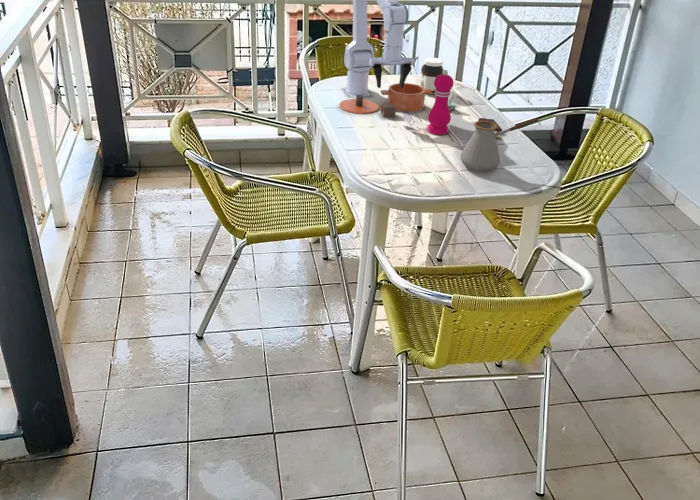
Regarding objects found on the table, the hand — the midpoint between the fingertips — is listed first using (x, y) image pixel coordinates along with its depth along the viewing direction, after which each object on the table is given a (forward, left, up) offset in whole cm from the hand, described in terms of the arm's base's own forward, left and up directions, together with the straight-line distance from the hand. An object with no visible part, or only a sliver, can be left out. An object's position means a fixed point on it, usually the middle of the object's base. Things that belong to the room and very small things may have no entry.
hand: (389, 86), depth 222 cm
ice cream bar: (+15, +31, -10) cm, 36 cm away
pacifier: (-7, +23, -10) cm, 26 cm away
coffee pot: (+43, +21, -10) cm, 49 cm away
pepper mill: (+14, +13, -10) cm, 22 cm away
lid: (-9, -8, -10) cm, 15 cm away
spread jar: (-25, +25, -10) cm, 37 cm away
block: (0, 0, -10) cm, 10 cm away
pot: (-10, +9, -10) cm, 17 cm away
